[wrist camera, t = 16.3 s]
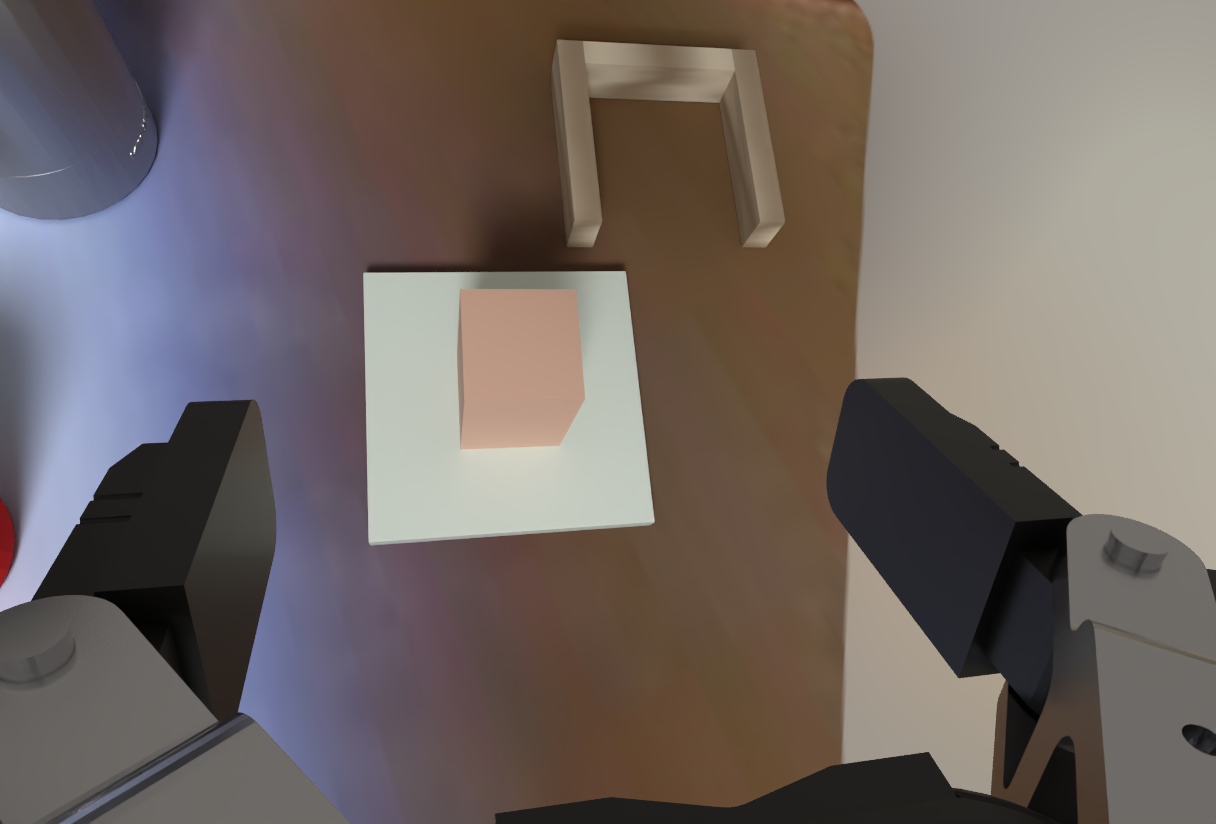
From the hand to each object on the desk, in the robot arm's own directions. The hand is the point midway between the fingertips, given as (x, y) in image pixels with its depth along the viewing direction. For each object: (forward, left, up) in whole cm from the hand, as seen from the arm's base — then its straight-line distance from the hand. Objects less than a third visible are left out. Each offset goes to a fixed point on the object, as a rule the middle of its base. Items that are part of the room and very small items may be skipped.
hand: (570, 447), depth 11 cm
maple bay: (+12, +25, -31) cm, 41 cm away
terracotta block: (+2, +10, -30) cm, 31 cm away
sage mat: (+2, +10, -31) cm, 32 cm away
